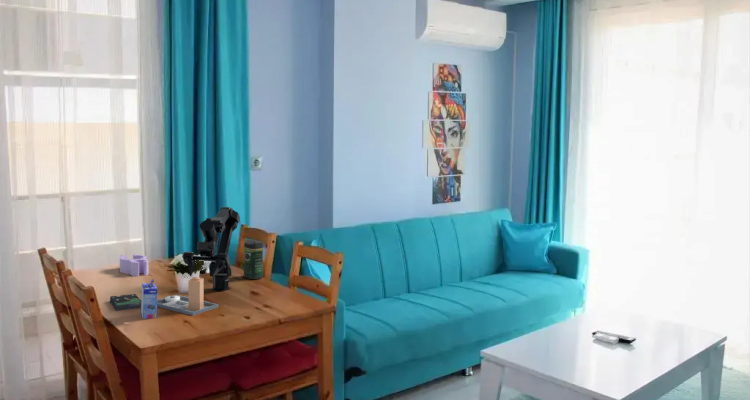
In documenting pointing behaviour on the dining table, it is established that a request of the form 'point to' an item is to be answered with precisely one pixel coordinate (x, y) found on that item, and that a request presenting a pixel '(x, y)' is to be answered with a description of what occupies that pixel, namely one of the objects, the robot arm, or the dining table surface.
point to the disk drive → (125, 302)
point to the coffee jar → (253, 259)
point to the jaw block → (196, 293)
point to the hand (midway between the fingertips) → (201, 276)
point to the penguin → (206, 265)
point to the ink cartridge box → (149, 300)
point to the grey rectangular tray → (183, 305)
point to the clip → (134, 265)
